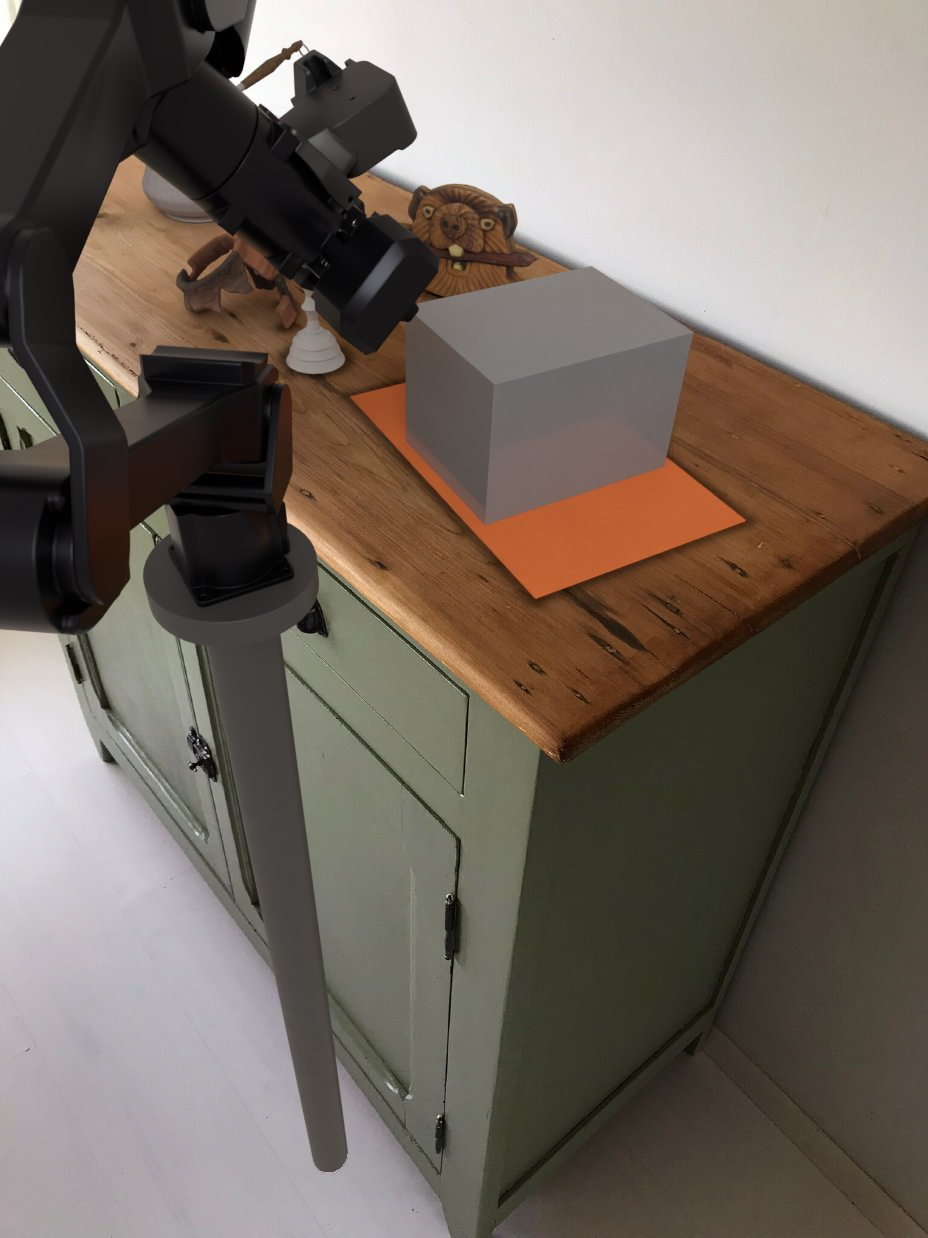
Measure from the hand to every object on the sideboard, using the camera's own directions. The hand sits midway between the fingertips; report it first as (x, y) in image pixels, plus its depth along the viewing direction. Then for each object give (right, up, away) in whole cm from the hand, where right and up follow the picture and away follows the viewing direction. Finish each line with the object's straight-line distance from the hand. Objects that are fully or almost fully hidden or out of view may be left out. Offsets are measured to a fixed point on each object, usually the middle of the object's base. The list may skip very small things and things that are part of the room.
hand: (412, 313), depth 60 cm
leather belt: (-17, +9, +29) cm, 35 cm away
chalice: (-10, +3, +23) cm, 25 cm away
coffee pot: (-23, +28, +49) cm, 61 cm away
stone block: (+9, -7, +13) cm, 17 cm away
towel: (+9, -7, +13) cm, 17 cm away
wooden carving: (+2, +12, +33) cm, 36 cm away
